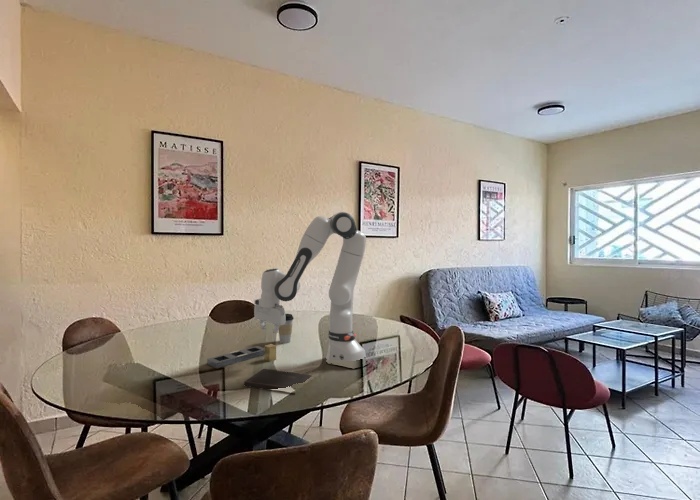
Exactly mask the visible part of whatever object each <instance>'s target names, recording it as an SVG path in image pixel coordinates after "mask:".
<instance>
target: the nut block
mask: <svg viewBox="0 0 700 500" xmlns="http://www.w3.org/2000/svg"><path fill="white" fill-rule="evenodd" d="M263 348H264V355H263V356H264V357H263V359H264V361H267V362H268V363H270V362H274V361H277V345H276V344H273V343H269V344H266V345H264V347H263Z"/></svg>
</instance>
